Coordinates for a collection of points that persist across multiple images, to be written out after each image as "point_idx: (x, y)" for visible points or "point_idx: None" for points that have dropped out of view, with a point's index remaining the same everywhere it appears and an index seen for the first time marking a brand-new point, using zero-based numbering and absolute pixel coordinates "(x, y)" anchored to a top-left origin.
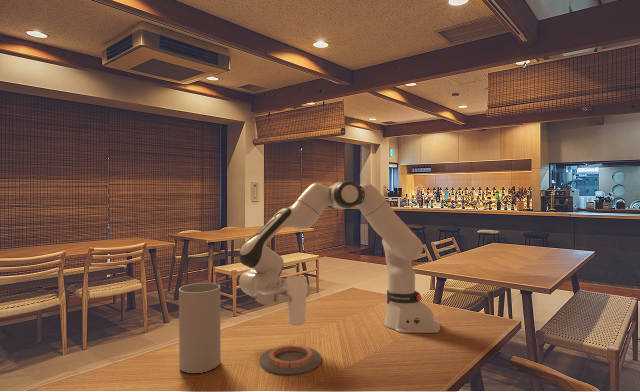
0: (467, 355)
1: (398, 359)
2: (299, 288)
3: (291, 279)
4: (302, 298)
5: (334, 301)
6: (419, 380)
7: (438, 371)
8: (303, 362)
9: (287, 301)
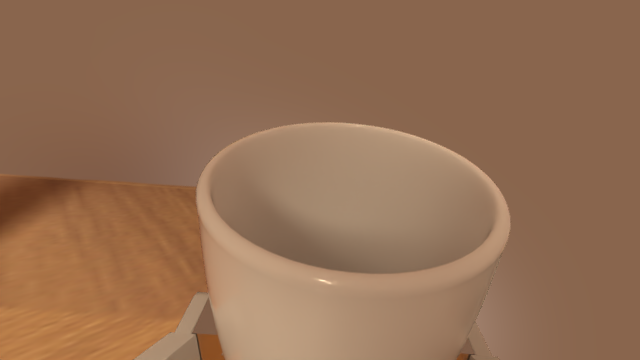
0: (98, 189)
1: (154, 256)
2: (381, 205)
3: (469, 161)
4: (343, 266)
5: None
6: None
7: (187, 203)
8: None
9: None
